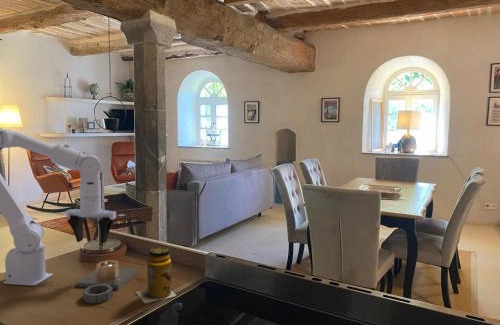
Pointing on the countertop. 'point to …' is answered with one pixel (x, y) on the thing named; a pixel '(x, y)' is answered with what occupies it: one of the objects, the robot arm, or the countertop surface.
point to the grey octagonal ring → (92, 297)
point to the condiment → (158, 276)
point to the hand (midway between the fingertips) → (91, 241)
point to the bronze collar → (107, 269)
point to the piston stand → (115, 283)
